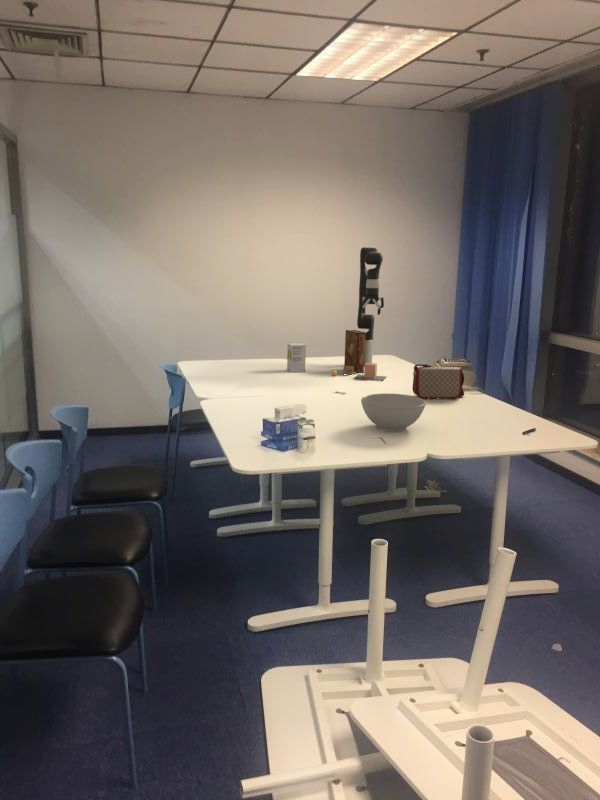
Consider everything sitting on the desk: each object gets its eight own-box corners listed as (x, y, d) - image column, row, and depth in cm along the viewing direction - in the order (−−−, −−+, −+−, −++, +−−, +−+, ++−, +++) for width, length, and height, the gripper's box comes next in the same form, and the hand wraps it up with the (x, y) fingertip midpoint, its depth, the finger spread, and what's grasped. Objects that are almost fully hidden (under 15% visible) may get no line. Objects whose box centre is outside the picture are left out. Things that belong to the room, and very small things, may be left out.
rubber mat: (358, 375, 385) (358, 374, 385) (386, 377, 380) (386, 376, 380) (353, 378, 374) (353, 377, 374) (382, 381, 369) (382, 380, 369)
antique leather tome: (364, 373, 392) (366, 332, 387) (357, 373, 390) (358, 333, 384) (351, 368, 407) (353, 329, 401) (344, 369, 404) (345, 329, 399)
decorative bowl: (392, 417, 289) (393, 390, 286) (437, 430, 268) (439, 402, 265) (347, 425, 273) (348, 398, 270) (391, 440, 252) (392, 411, 250)
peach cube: (366, 375, 381) (366, 362, 379) (376, 376, 379) (377, 363, 377) (364, 377, 375) (364, 364, 373) (374, 378, 373) (375, 365, 372)
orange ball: (332, 375, 384) (332, 370, 383) (337, 375, 383) (337, 370, 382) (330, 376, 381) (331, 370, 380) (336, 376, 380) (336, 371, 379)
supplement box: (286, 369, 399) (287, 343, 395) (300, 369, 402) (301, 342, 398) (291, 372, 390) (291, 345, 386) (305, 372, 393) (306, 344, 389)
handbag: (461, 394, 338) (463, 362, 334) (468, 399, 328) (470, 365, 324) (409, 395, 335) (411, 362, 331) (415, 399, 325) (417, 365, 321)
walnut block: (345, 373, 390) (345, 365, 389) (353, 374, 389) (353, 366, 387) (343, 375, 385) (343, 367, 384) (351, 375, 384) (351, 367, 383)
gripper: (385, 287, 381) (384, 314, 384) (362, 286, 385) (360, 313, 388) (383, 287, 374) (382, 315, 377) (359, 286, 378) (358, 314, 381)
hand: (371, 314), depth 383 cm, fingers open, 8 cm apart
